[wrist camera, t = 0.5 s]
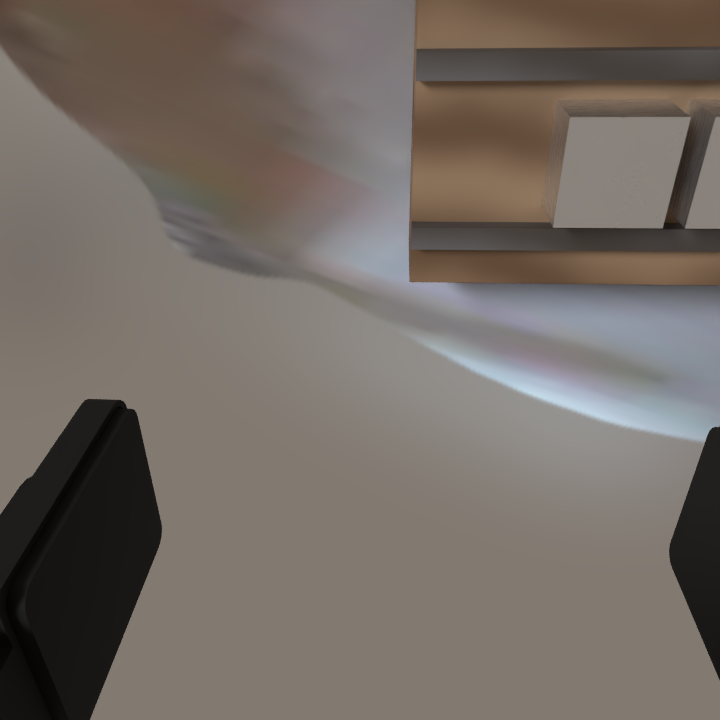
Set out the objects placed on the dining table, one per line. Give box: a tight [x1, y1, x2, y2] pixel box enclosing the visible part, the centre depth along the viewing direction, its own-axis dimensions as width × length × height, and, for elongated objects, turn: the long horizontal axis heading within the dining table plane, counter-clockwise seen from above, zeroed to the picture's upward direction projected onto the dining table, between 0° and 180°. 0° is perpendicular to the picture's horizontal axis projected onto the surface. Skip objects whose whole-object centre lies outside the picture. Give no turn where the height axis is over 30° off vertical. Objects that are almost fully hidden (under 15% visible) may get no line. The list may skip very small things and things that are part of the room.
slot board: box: [409, 0, 720, 285], centre depth 34 cm, size 14×20×6 cm
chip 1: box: [542, 99, 691, 228], centre depth 31 cm, size 5×5×3 cm
